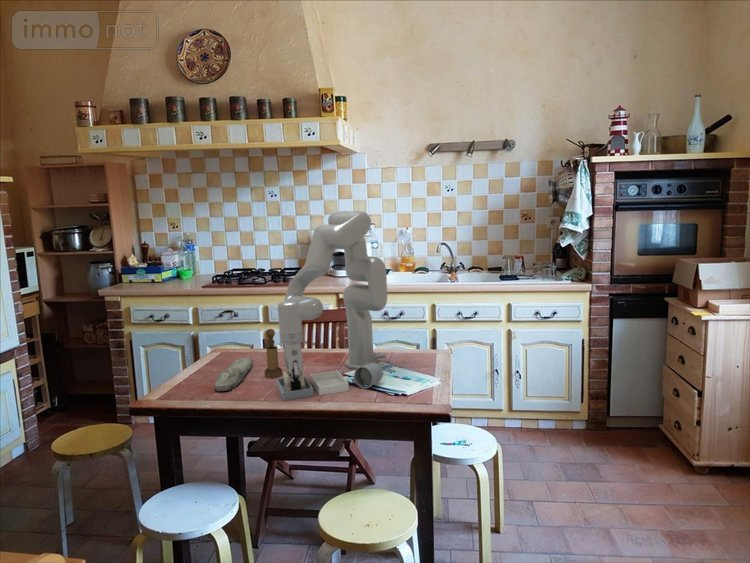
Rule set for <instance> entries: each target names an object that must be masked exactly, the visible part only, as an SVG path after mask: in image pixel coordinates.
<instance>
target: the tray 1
mask: <svg viewBox="0 0 750 563" xmlns="http://www.w3.org/2000/svg"><path fill="white" fill-rule="evenodd" d="M275 379H276V387H277V389H278V392H279V394H280V396H281V398H282V401H289V400H296V399H303V398H309V397H314V394H315V392H314V386H313V385H311V384H312V383H311V381H309V380H308V378H307V376H306V375H305V374H304V382H305V389H302V390H295V391H288V392H286V391H285V388H284V377H282V378H281V377H278V378H275Z"/></svg>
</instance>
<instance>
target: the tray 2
mask: <svg viewBox="0 0 750 563" xmlns="http://www.w3.org/2000/svg"><path fill="white" fill-rule="evenodd" d="M310 384H312V387H313V388H314V389H315V391H317V393H318V395H319V396H323V395H330V394H336V393H344V392H349V391H350V387H349V386H350V385H349V384H350V383H349V382H348V381H347V380H346V379H345V377H344V376H343V374H341V372H340V371H339V370H332V371H325V372H316V373H310Z"/></svg>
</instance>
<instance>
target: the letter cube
mask: <svg viewBox="0 0 750 563" xmlns="http://www.w3.org/2000/svg"><path fill="white" fill-rule="evenodd" d="M292 372H294V371H292ZM282 374H283V378H284V388H285V391H286V392H288V391H291V381H292V380H291V373H289V372H288V371H286V372H283V371H282ZM299 374H300V381H301V390H302V389H305V382H304V375H305V374H304V373H303V372H301V371H300V370H299ZM293 376H294V374H293Z"/></svg>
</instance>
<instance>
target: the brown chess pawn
mask: <svg viewBox="0 0 750 563" xmlns="http://www.w3.org/2000/svg"><path fill="white" fill-rule="evenodd" d="M265 332H266V337H267V338H268V341H267V343H268V346H267V347H266V348H265V350H266V362H267V368H266V369H265V370H264V378H265V379H279V378H281V377H282V376H284V373H283V369H282V368H281V367H279V357H278V347H277V346H275V340H274V337H275V334H276V332H275V330H274V329H273V328H269V329H267V330H266V331H265Z"/></svg>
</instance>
